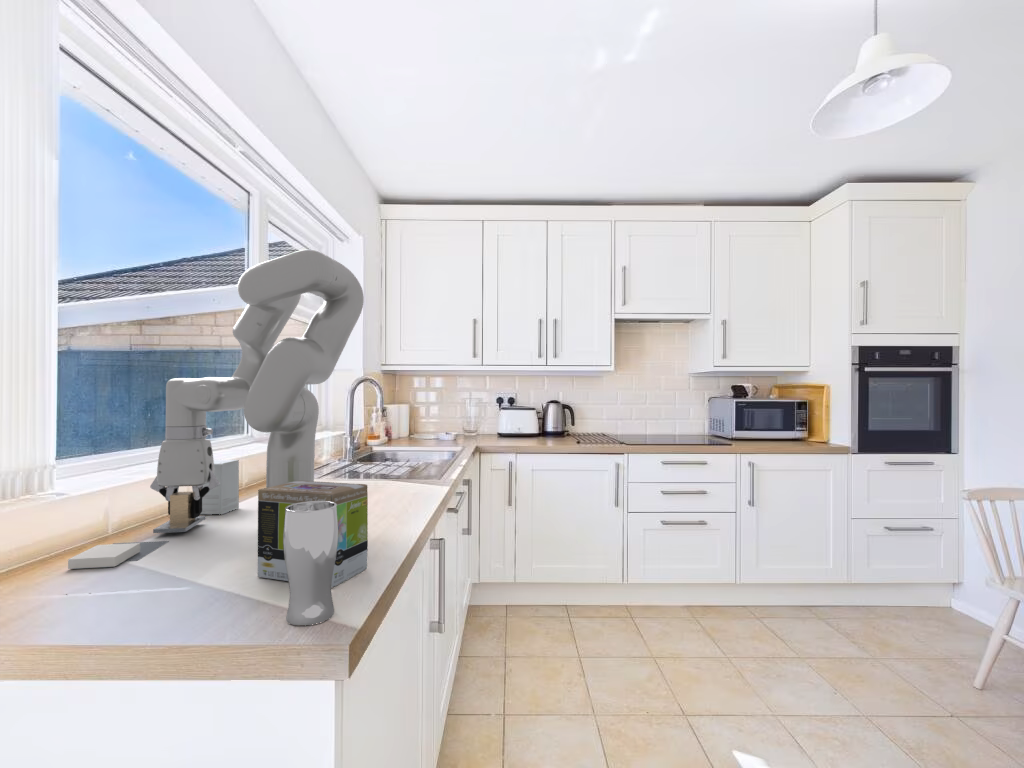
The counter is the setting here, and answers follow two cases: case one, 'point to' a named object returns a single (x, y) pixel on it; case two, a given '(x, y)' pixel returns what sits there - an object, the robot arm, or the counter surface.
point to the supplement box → (223, 489)
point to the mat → (145, 549)
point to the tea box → (349, 525)
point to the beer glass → (310, 560)
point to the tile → (104, 556)
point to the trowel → (179, 514)
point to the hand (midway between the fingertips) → (185, 516)
